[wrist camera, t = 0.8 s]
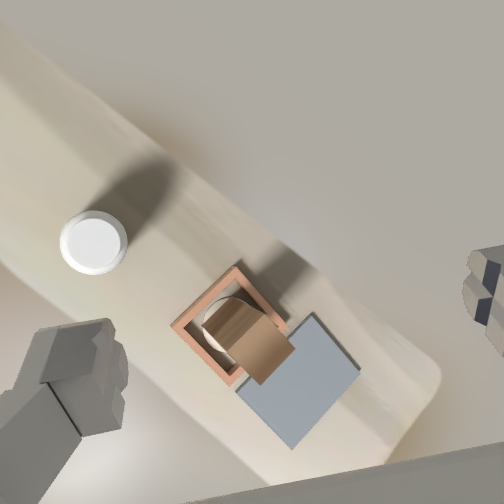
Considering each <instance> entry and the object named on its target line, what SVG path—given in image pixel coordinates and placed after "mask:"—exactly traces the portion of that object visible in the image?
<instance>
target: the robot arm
mask: <svg viewBox="0 0 504 504" xmlns="http://www.w3.org/2000/svg"><path fill="white" fill-rule="evenodd" d="M467 267H468V268H469V269H470V270H471V274H470V275H469V276H468V277H467V278H466V279H465V280H464V283H463V291H462V293H463V299H464V304H465V306H466V309H467V310H468V313H469V314H470V315H471V317H472V318H473V320H475V321H476V322H479V323H481V324H483V325H485V326H486V332H485V335H486V337H487V338H488V339H489V341H490V342H491V343H492V345H493V346H494V347H495V348H496V350H497V351H498V352H499V354H500V355H501V356H502V357H504V245H500V246H495V247H490V248H484V249H479V250H474V251H472V252H471V253H470V255H469V257H468V261H467ZM115 331H116V330H115V328H114V326H113V324H112V322H111V320H110V319H108V318H102V319H96V320H90V321H84V322H77V323H72V324H65V325H62V326H55V327H49V328H43V329H39V330H38V331H37V332H36V333H35V334H34V337H33V339H32V341H31V344H30V346H29V349H28V351H27V354H26V356H25V359H24V361H23V364H22V366H21V369H20V372H19V374H18V377H17V379H16V382H15V384H14V387H13V389H12V390H7V391H4V392H3V394H1V395H0V504H38V503H39V501H40V500H41V498H42V497H43V495H44V494H45V492H46V491H47V490H48V488H49V487H50V485H51V484H52V482H53V481H54V479H55V478H56V477H57V475H58V474H59V472H60V471H61V469H62V468H63V466H64V465H65V464H66V462H67V461H68V459H69V458H70V456H71V455H72V453H73V452H74V450H75V449H76V448H77V446H78V445H79V443H80V442H81V440H82V438H81V437H85V436H90V435H95V434H99V433H104V432H109V431H113V430H118V429H121V425H122V419H123V412H124V405H125V401H124V399H123V397H122V395H121V392H122V391H123V390H124V388H125V387H126V386H127V383H128V361H127V357H126V353H125V350H124V348H123V346H122V344H121V343H119V342H117V341H116V340H114V337H115ZM181 504H504V442H499V443H494V444H489V445H483V446H478V447H473V448H468V449H463V450H458V451H452V452H447V453H442V454H437V455H431V456H426V457H421V458H416V459H411V460H406V461H400V462H395V463H390V464H385V465H379V466H374V467H369V468H364V469H359V470H353V471H348V472H343V473H338V474H332V475H327V476H322V477H317V478H312V479H306V480H301V481H296V482H291V483H285V484H280V485H275V486H270V487H265V488H259V489H254V490H249V491H244V492H239V493H233V494H228V495H223V496H218V497H213V498H207V499H202V500H197V501H191V502H186V503H181Z"/></svg>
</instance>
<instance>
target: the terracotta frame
mask: <svg viewBox="0 0 504 504" xmlns="http://www.w3.org/2000/svg"><path fill="white" fill-rule="evenodd" d="M234 279H235V280H236V281H237V282H238V283H239V284H240V285H241V287H242V288H243V289H244V290H245V291H246V292H247V293H248V294H249V296H250V297H251V298H252V299H253V300H254V301H255V302H256V303H257V305H258V306H259V307H260V308H261V309H262V310H263V311H264V313H265V314H266V315H267V316H268V317H269V318H270V319H271V320H272V322H273V323H274V324H275V326H276V327H277V328H278V329H279V330H280V332H281V333H282V332H283V331H284V330H285V329H286V328H287V327H288V325H287V324H286V323H285V322H284V321H283V320H282V319H281V317H280V316H279V315H278V314H277V313H276V312H275V311H274V309H273V308H272V307H271V306H270V305H269V304H268V303H267V301H266V300H265V299H264V298H263V297H262V296H261V295H260V293H259V292H258V291H257V290H256V289H255V288H254V287H253V285H252V284H251V283H250V282H249V281H248V280H247V279H246V277H245V276H244V275H243V274H242V273H241V272H240V271H239V269H238V268H237V267H235V266H232V267H231V268H230V269H229V270H228V271H227V272H226V273H225V274H224V275H223V276H222V277H221V278H220V279H219V280H218V281H216V282H215V283H214V284H213V285H212V286H211V287H210V288H209V289H208V290H207V291H206V292H205V293H204V294H203V295H202V296H201V297H200V298H199V299H198V300H197V301H195V302H194V303H193V304H192V305H191V306H190V307H189V308H188V309H187V310H186V311H185V312H184V313H183V314H182V315H181V316H180V317H179V318H178V319H177V320H176V321H174V322H173V323H172V324H171V325H170V326H171V328H172V329H173V330H174V331H175V332H176V333H177V334H178V335H179V336H180V337H181V338H182V339H183V340H184V341H185V342H186V343H187V344H188V345H189V346H190V347H191V348H192V349H193V350H194V351H195V352H196V353H197V354H198V355H199V356H200V357H201V358H202V359H203V360H204V362H205V363H206V364H207V365H208V366H209V367H210V368H211V369H212V370H213V371H214V372H215V373H216V374H217V375H218V376H219V377H220V378H221V379H222V380H223V381H224V382H225V383H226V384H227V385H228V386H229V387H230V386H231V385H232V384H233V383H234V382H235V381H236V380H237V379H238V378H239V377H240V376H241V375H242V374H243V372H244V371H245V370H244V369H243V368H242V367H241V366H240V365H239V364H238V363H236V364H235V365H234V366H233V367H232V368H231V369H230V370H229V371H228V372H227V373H226V372H225V371H224V369H223V368H222V367H221V366H220V365H219V364H218V363H217V362H216V361H215V360H214V359H213V358H212V357H211V356H210V355H209V354H208V353H207V352H206V351H205V350H204V349H203V348H202V347H201V346H200V345H199V344H198V343H197V342H196V340H195V339H194V338H193V337H192V336H191V335H190V334H189V333H188V332H187V331H186V330H185V329H184V327H185V326H186V325H187V324H188V323H189V322H190V321H191V320H192V319H193V318H194V317H195V316H196V315H197V314H198V313H199V312H200V311H201V310H202V309H203V308H204V307H205V306H206V305H208V304H209V303H210V302H211V301H212V300H213V299H214V298H215V297H216V296H217V295H218V294H219V293H220V292H221V291H222V290H223V289H224V288H225V287H226V286H227V285H228V284H229V283H230V282H231V281H233V280H234ZM229 298H230V297H229ZM229 298H224V299H221V300H219V301H217V302H215V303H214V304H213V305H212V306H211V307H210V308H209V309H208V311H207V312H206V314H205V316H204V320H203V323H205V322H206V321H207V320H208V319H209V318H210V317H211V316H212V315H213V314H214V313H215V312H216V311H217V310H218V309H219V308H220V307H221V306H222V305H223V304H224V303H225V302H226V301H227V300H228V299H229ZM236 299H238V298H236ZM238 300H240V301H242V302H244V303H246V302H245V301H243V300H241V299H238ZM246 304H247V303H246ZM203 334H204V337H205V339H206V341H207V342H208V343H209V345H210V346H211V347H213V348H214V349H216V350H218V351H220V352H225V353H227V352H226V351H225V350H224V349H223V348H222V347H221V346H220V345H219V344H218V343H217V342H216V341H215V340H214V338H213V337H212V336H211V335H210V334H209V333H208V332H207V331H206V330H205V329H204V328H203Z"/></svg>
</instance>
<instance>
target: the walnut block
mask: <svg viewBox="0 0 504 504" xmlns="http://www.w3.org/2000/svg"><path fill="white" fill-rule="evenodd" d="M201 326H202V327H203V328H204V329H205V330H206V331H207V332H208V333H209V334H210V335H211V336H212V337H213V338H214V340H215V341H216V342H217V343H218V344H219V345H220V346H221V347H222V348H223V349H224V350H225V351H226V352H227V353H228V354H229V355H230V356H231V357H232V358H233V359H234V360H235V361H236V362H237V363H238V364H239V365H240V366H241V367H242V368H243V369H244V370H245V371H246V372H247V373H248V374H249V375H250V376H251V377H252V378H253V379H254V380H255V381H256V382H257V383H258V384H259V385H260V386H261V385H262V384H263V383H264V382H265V380H266V379H267V378H268V377H269V376H270V375H271V374H272V373H273V372H274V371H275V370H276V369H277V368H278V367H279V366H280V365H281V364H282V363H283V362H284V361H285V360H286V358H287V357H288V356H289V355H290V354H291V353H292V352H293V351H294V350H295V349H296V348H295V347H294V346H293V345H292V344H291V343H290V342H289V341H288V339H287V338H286V337H285V336H284V335H283V334H282V333H281V332H280V330H279V329H278V328H277V327H276V326H275V325H274V324H273V322H272V321H271V320H270V319H269V318H268V317H267V316H266V315H265V314H264V313H263V312H261V311H259V310H257V309H255V308H253V307H251V306H250V305H248V304H246V303H244V302H242V301H240V300H238V299H236V298H235V297H233V296H231V297H230V298H229V299H228V300H227V301H226V302H225V303H224V304H223V305H222V306H221V307H220V308H219V309H218V310H217V311H216V312H215V313H214V314H213V315H212V316H211V317H210V318H209V319H208V320H207V321H206V322H205V323H203V324H202V325H201Z"/></svg>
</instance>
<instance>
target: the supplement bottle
mask: <svg viewBox="0 0 504 504" xmlns="http://www.w3.org/2000/svg"><path fill="white" fill-rule="evenodd" d="M127 246H128V239H127V234H126V231H125V229H124V227H123V225H122V224H121V223H120V222H119V221H118V220H117V219H116V218H115V217H113V216H112V215H110V214H108V213H106V212H102V211H96V210H91V211H85V212H81V213H79V214H77V215H75V216H73V217H72V218H71V219H70V220H69V221H68V222H67V223H66V224H65V226H64V227H63V229H62V232H61V235H60V250H61V253H62V255H63V257H64V259H65V261H66V262H67V263H68V264H69V265H70V266H71V267H72V268H74V269H75V270H77V271H79V272H81V273H84V274H90V275H99V274H104V273H107V272H109V271H111V270H113V269H114V268H116V267H117V266H118V265H119V264H120V263H121V261H122V260H123V258H124V257H125V254H126V251H127Z"/></svg>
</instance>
